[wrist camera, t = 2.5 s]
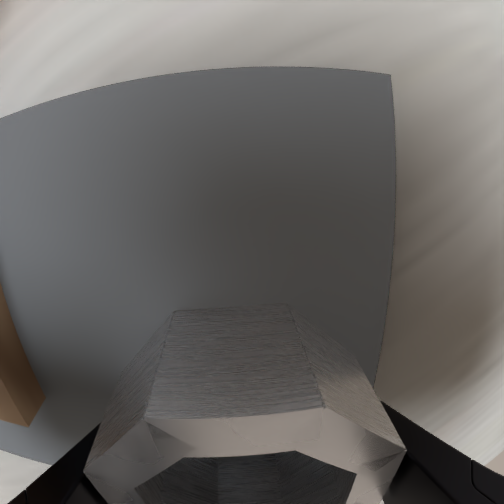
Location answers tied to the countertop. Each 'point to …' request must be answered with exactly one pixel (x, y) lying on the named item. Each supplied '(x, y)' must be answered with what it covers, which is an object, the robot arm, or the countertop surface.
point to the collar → (243, 416)
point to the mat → (189, 221)
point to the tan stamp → (16, 375)
